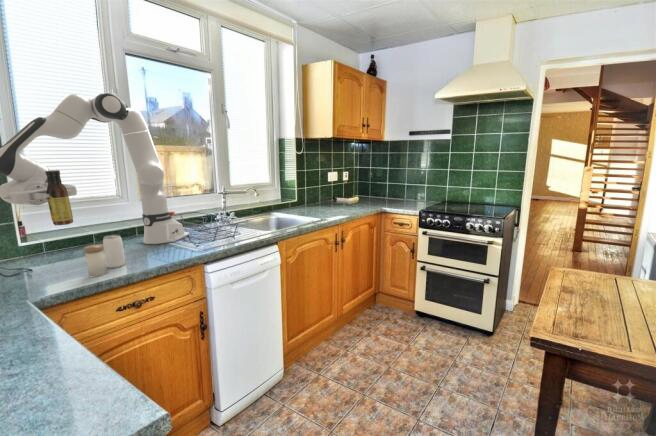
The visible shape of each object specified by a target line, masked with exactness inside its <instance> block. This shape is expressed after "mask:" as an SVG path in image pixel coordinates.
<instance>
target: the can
mask: <svg viewBox="0 0 656 436" xmlns="http://www.w3.org/2000/svg"><path fill="white" fill-rule="evenodd" d="M102 238H103V240H102V245H103V247H104V250H103V251H104V257H105V263H106V268H109V269H116V267H117V268H120V266H121V267H123V266H124V265H126V257H125V249H124V244H123V243H124V242H123V238H122V237H121V235H120V234H110V235H106V236H103V237H102Z"/></svg>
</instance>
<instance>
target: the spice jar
mask: <svg viewBox="0 0 656 436" xmlns="http://www.w3.org/2000/svg"><path fill="white" fill-rule="evenodd" d="M83 253H84V255H85V261H86V265H87V272H88V276H89V277H90V276H97V277H101V276H100V275H102V276H103V274H104V275H106V274H107V273H108V270H107V268H108V267H107V265H106V259H105V253H104V247H103V243H102V244H101V243H99V244H90V245H86V246H84V247H83ZM105 273H106V274H105Z"/></svg>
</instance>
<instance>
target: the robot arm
mask: <svg viewBox="0 0 656 436" xmlns="http://www.w3.org/2000/svg"><path fill="white" fill-rule="evenodd" d="M90 120H94V121H96V122H99V123H105V124H106V123H111V122H115V123H116V124H117V125H118V126H119V128H120V130H121V133H122V136H123V139H124V141H125V145H126V147H127V151H128V152H129V155H130V159H131V160H132V163H133V166H134V168H135V171H136V174H137V182H138V189H139V194H140V202H141V208H142V222H143V225H144V226H143V227H144V229H143V231H144V232H143V233H144V234H143V242H142V243H143V244H145V245H157V244H165V243H174V242H177V241H178V240H181V239H183V238H185V237H187V236H189V235H190V233H189V232H188V231H185V230H184V226H183V224H182V223H180V222H179V221H177V220H176V219H174V218H172V216H175V213H176V212H175V211H173V210H172V211H171V210H170V211H169V210H168V202H167V195H166V189H165V183H164V179H165V171H164V168H163V165H162V163H161V160H160V157H159V155H158V153H157V149H156V148H155V145H154V141H153V139H152V136H151V134H150V130H149V128H148V125H147V123H146V121H145V119H144V117H143V115H142V113H141V112H140V110H139V109H136V108H135V107H134V108H133V107H129V106H128V105H127V104H126V103H125V102H124V101H123V100H122V99H121V97H119V96H118V95H116V94H115V93H113V92H102V93H99V94H98V95H96V96H95V97H94V98H92V99H89V98H87V97H85V96H84V95H80V94H76V93H75V94H74V93H73V94H69V95H68V96H66V97H65V98H64V99H63V100H62V101H61V102H60V103H59V104H58V105H57V106H56V108H55V109H54V111H52V113H51V114H49V115H47V116H46V117H41V116H39V117H37V118H34V119H33V120H31V121H30V122H28V123H27V124H26V125H25V126H24V127H22V128H21V129H20V130H19V131H18V132H17V133H16V134H15V135H13V136H12V138H10V139H9V140H8V141H7V142H5V143H4V144H3V145H2V146H0V175H1V176H4V177H7V178H10V179H12V180H10V181H8V182H5V183H3V184H1V185H0V199H2V200H3V201H4V202H6V203H9V204H13V205H21V206H22V205H26V206H41V205H44V204H45V203H46V204H47V203H48V200H47V198H50V196H49V193H46V191H47V187H48V179H47V175H46V172H45V171H49V170H50V169H49V168H48V166H45V165H44V164H42V163H41V162H38V161H36V160H34V159H32V158H30V157H28V156H26V155H24V154H22V151H24V149H25V148H27V147H28V146H29V144H31V142H33V141H34V140H35V139H36V138H38V137H41V136H46V137H47V136H48V137H52V138H56V139H61V140H71V139H74V138H77V137H78V136H79V135H80V134H81V132H82V131H83V129H84V128H85V126H86V124H87V123H88V122H89V121H90ZM62 184H63V183H62ZM63 185H64V186H65V187H66V189H67V193H68V196H69V197H72V196H76V195H77V194H78V192H77V191H78V190H77V187H76V186H75V185H72V184H65V183H64V184H63Z"/></svg>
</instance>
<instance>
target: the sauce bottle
mask: <svg viewBox="0 0 656 436" xmlns="http://www.w3.org/2000/svg"><path fill="white" fill-rule="evenodd" d="M45 172H46V175H47V179H48V187H47V191H46V193H49V196H50V198H47V200H48V202H47V205H48V208H49V214H50V217H51V221H52V223H53V225H54V226H67V225H70V224H72V223H73V222H74V216H73V212H72V207H71V201H70V196H68V193H67V189H66V187H65V186H64V185H63V183H62V179H61V171H60V169H52V170H50V169H49V171H45Z"/></svg>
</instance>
